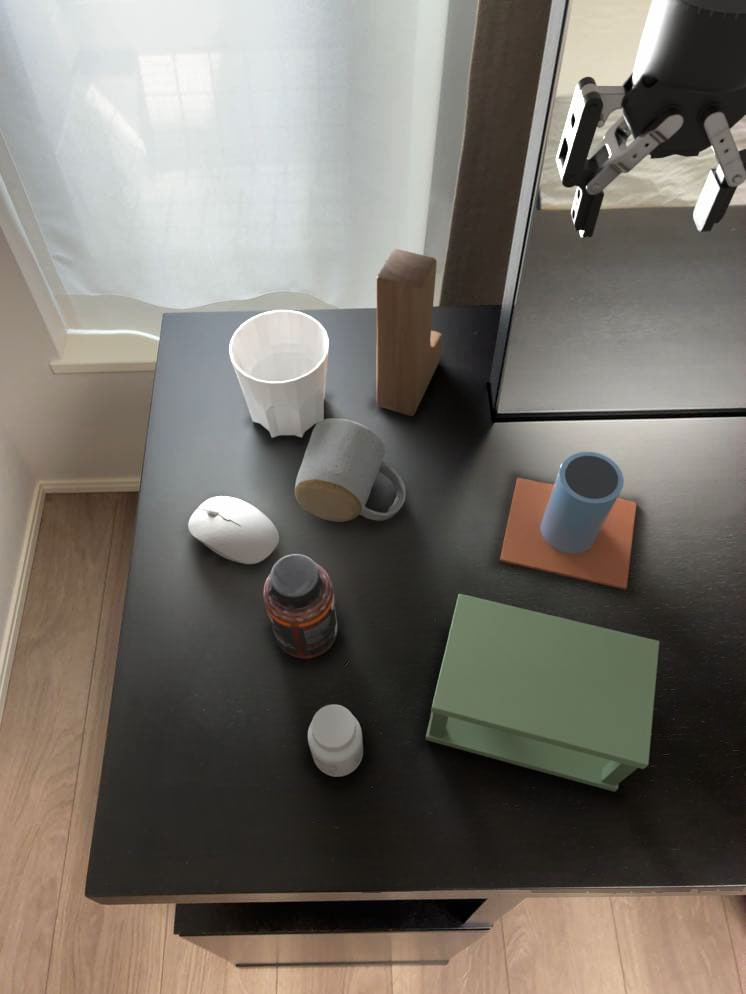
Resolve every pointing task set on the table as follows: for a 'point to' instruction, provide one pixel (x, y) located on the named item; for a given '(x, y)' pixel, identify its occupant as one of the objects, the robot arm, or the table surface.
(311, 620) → the supplement bottle
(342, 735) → the pill bottle
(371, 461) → the ceramic mug
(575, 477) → the tumbler
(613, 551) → the orange coaster
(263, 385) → the cup
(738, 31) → the robot arm
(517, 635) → the shelf
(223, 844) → the table surface
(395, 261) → the wooden block
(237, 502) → the computer mouse
